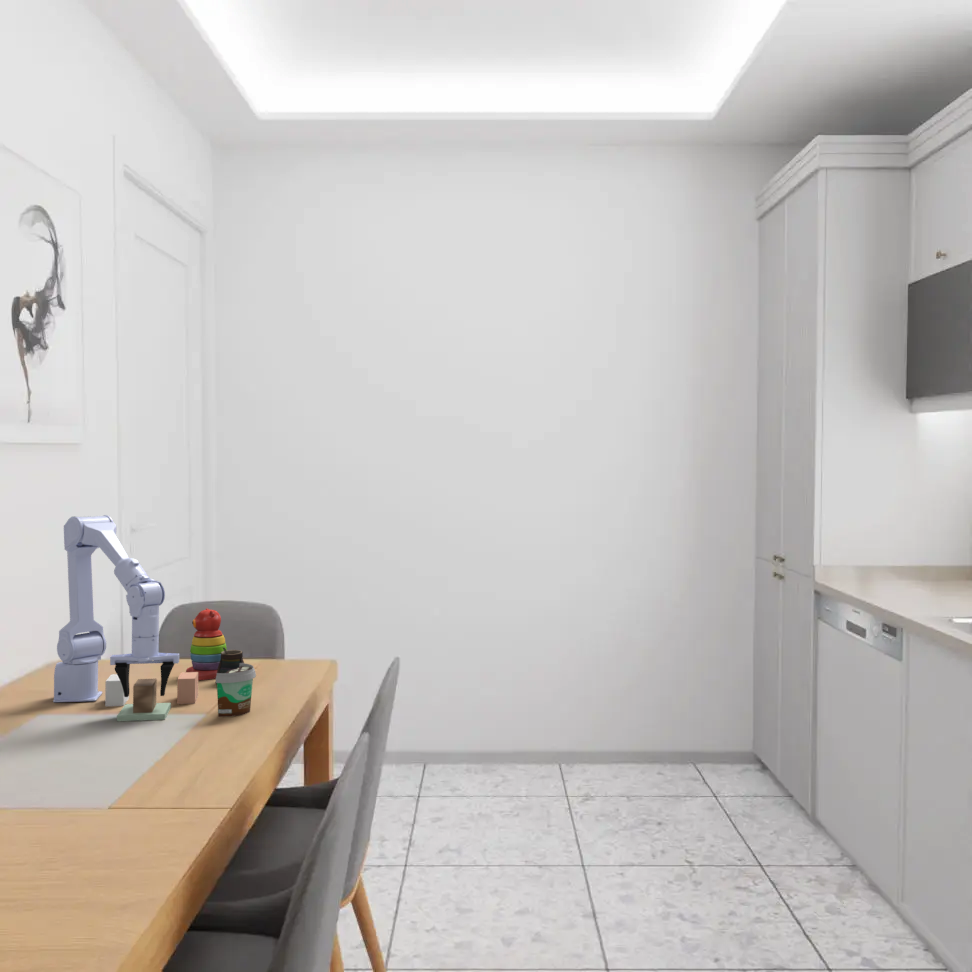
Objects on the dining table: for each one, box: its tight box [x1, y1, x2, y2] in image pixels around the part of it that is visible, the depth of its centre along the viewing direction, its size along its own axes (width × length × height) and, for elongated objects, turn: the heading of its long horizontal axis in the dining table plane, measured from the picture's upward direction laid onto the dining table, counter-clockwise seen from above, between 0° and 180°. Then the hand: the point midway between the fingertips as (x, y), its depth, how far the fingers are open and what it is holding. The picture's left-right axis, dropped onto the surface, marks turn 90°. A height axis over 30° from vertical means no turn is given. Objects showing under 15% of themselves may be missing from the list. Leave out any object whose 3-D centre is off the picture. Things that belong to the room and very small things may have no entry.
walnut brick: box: [132, 678, 158, 713], centre depth 209 cm, size 4×7×6 cm, turn 12°
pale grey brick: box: [104, 673, 130, 707], centre depth 219 cm, size 4×7×6 cm, turn 12°
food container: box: [215, 662, 257, 718], centre depth 212 cm, size 12×6×10 cm, turn 168°
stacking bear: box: [185, 607, 228, 682], centre depth 248 cm, size 11×10×18 cm
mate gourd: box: [217, 647, 245, 673], centre depth 241 cm, size 7×8×10 cm
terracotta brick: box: [176, 671, 199, 705], centre depth 223 cm, size 4×7×6 cm, turn 12°
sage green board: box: [116, 702, 172, 722], centre depth 209 cm, size 10×10×1 cm
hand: (144, 695), depth 209 cm, fingers open, 7 cm apart
